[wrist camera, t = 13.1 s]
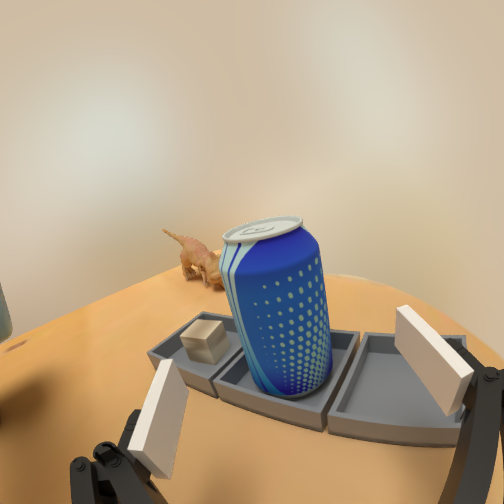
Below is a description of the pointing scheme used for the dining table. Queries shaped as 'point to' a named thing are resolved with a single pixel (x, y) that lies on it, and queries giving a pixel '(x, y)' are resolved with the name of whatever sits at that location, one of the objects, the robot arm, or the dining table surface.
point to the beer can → (278, 304)
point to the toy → (198, 260)
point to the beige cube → (205, 341)
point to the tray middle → (290, 409)
